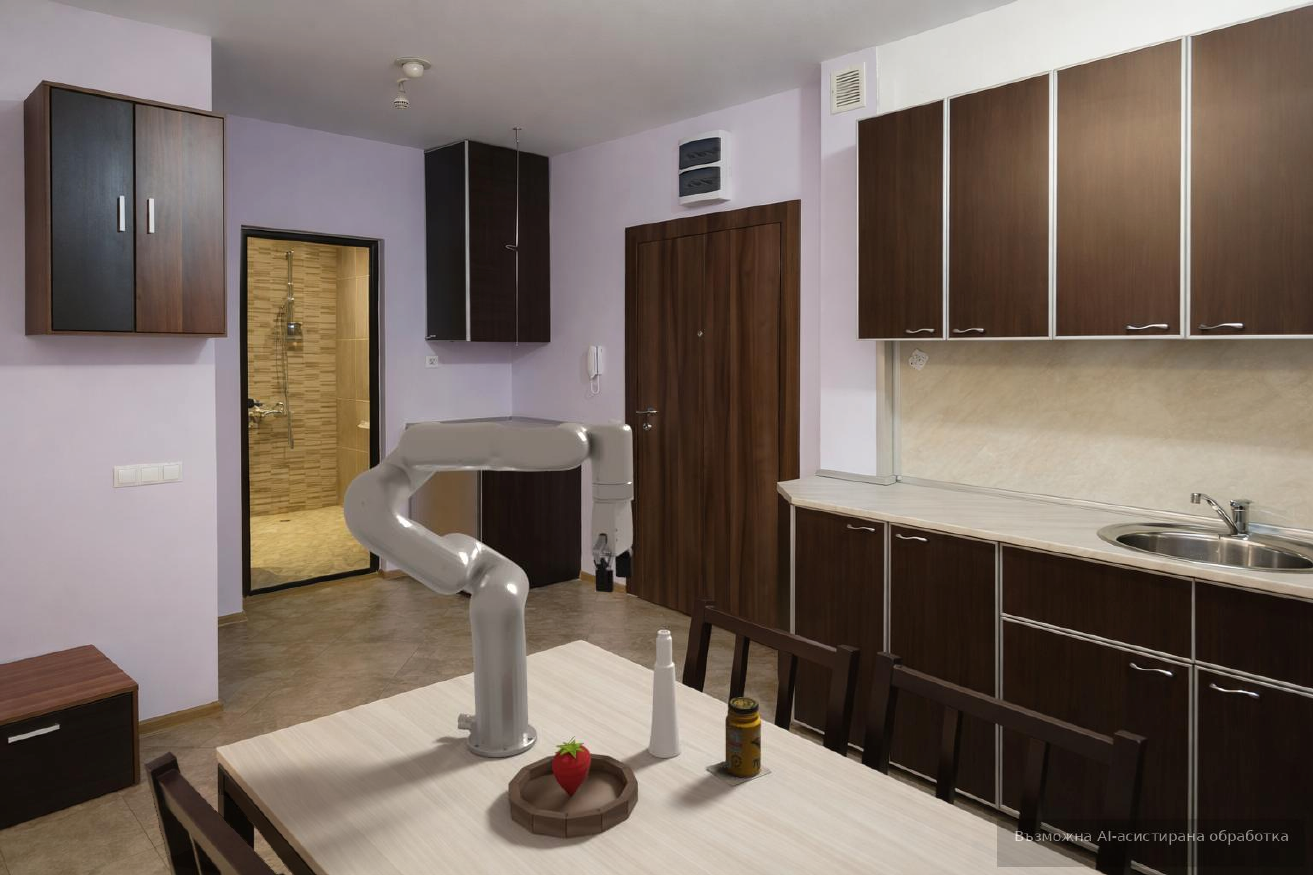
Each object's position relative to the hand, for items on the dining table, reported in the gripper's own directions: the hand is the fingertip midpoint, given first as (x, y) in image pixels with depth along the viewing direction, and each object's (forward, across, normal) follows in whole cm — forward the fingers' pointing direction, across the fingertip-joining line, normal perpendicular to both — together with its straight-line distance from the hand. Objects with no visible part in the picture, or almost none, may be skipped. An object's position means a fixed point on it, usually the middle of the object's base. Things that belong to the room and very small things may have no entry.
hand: (614, 584), depth 152 cm
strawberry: (+28, +23, +1) cm, 36 cm away
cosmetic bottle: (+30, +2, +10) cm, 31 cm away
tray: (+29, +23, +1) cm, 37 cm away
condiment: (+30, +5, +24) cm, 39 cm away
